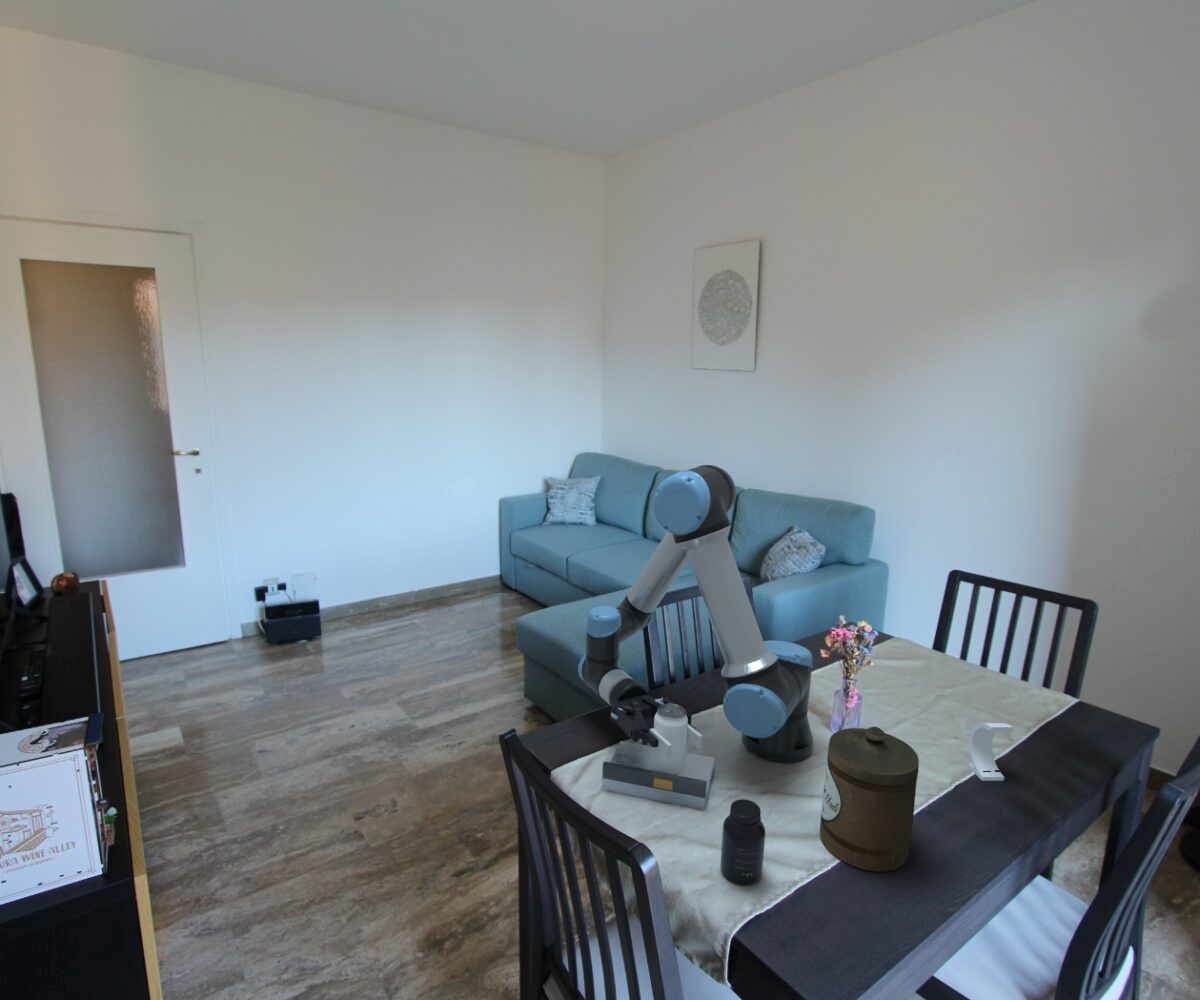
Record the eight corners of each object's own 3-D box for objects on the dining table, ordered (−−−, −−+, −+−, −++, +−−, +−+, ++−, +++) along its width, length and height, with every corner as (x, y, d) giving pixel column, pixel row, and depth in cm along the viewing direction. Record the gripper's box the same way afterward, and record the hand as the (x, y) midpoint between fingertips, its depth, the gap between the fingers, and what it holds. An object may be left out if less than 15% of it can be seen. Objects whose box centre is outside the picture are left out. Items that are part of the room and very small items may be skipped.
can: (674, 754, 142) (677, 700, 140) (691, 771, 136) (694, 715, 134) (646, 761, 140) (648, 705, 137) (661, 779, 134) (665, 722, 131)
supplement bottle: (715, 857, 119) (719, 794, 117) (754, 856, 120) (760, 793, 117) (726, 888, 113) (730, 822, 110) (767, 886, 113) (773, 820, 111)
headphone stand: (982, 780, 143) (990, 727, 141) (965, 763, 149) (973, 712, 146) (1003, 780, 143) (1012, 727, 141) (986, 763, 149) (994, 712, 147)
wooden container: (829, 805, 134) (840, 700, 129) (913, 833, 127) (928, 722, 122) (809, 851, 121) (821, 736, 117) (901, 885, 114) (918, 764, 110)
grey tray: (713, 768, 145) (715, 744, 144) (704, 811, 131) (705, 785, 130) (620, 751, 150) (621, 728, 149) (601, 790, 136) (602, 765, 135)
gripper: (659, 700, 157) (724, 752, 138) (583, 719, 148) (641, 778, 128) (661, 669, 156) (727, 717, 136) (584, 686, 146) (642, 741, 127)
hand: (685, 747), depth 132 cm, fingers closed on can, 6 cm apart
